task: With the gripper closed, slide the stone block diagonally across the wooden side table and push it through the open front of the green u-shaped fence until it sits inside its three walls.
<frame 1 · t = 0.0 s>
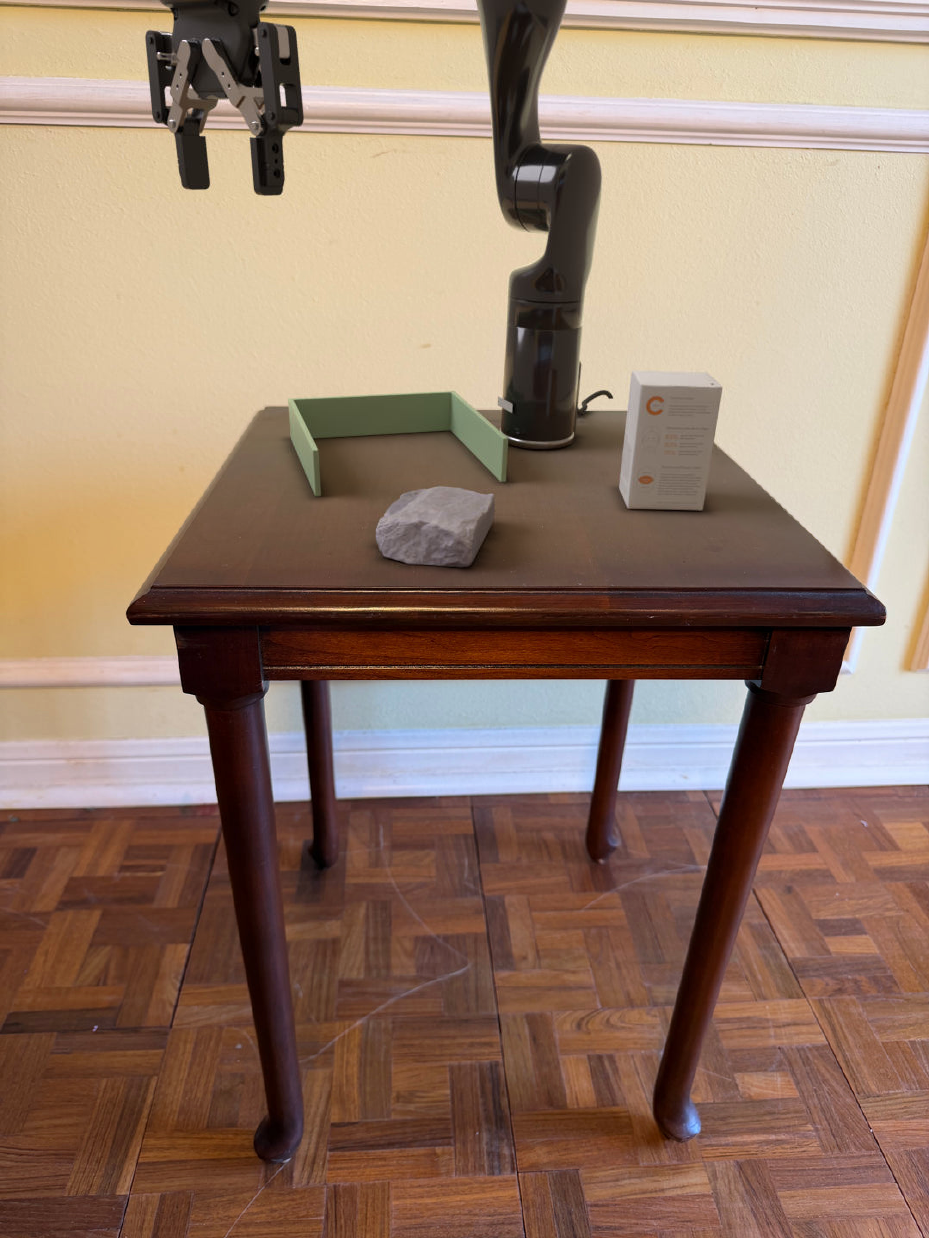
hand: (231, 192, 67), 29 cm above the table, tool pointing down, fingers open, 8 cm apart
stone block: (433, 541, 83), on the table
green u-shaped fence: (392, 459, 104), on the table
small box: (659, 501, 94), on the table
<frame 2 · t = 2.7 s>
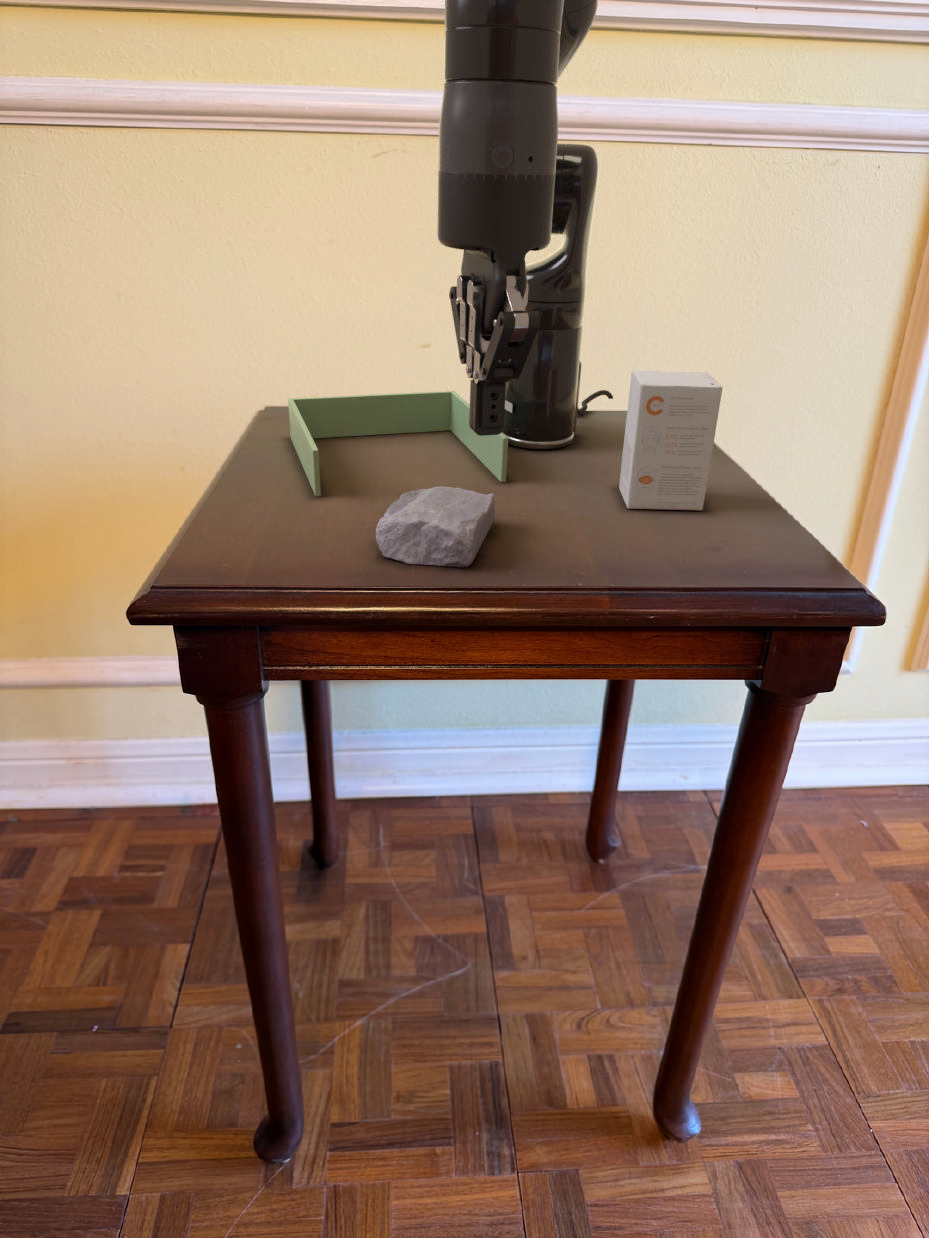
hand: (486, 432, 65), 14 cm above the table, tool pointing down, fingers closed
nothing on the table moved.
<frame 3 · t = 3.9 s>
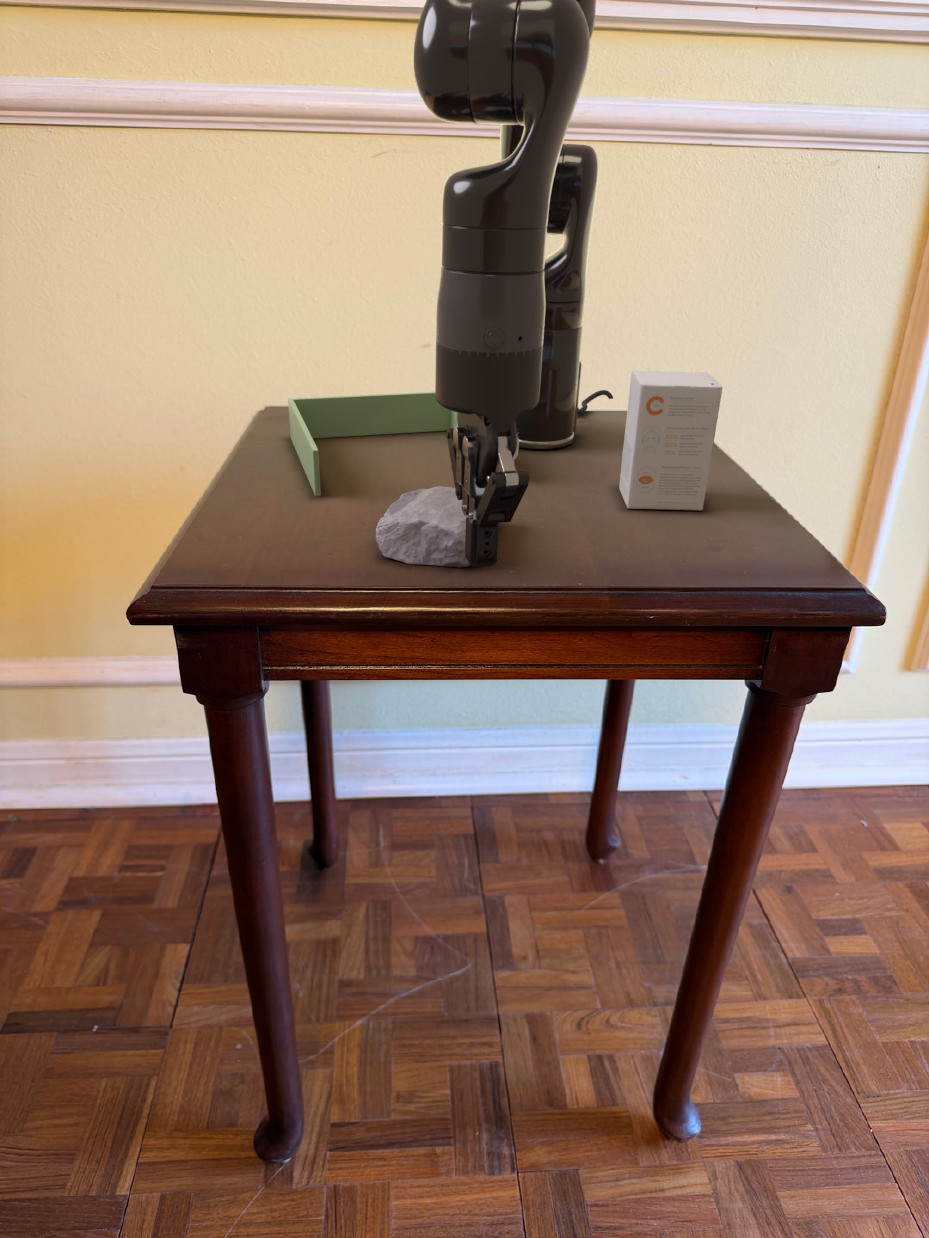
hand: (480, 562, 70), 4 cm above the table, tool pointing down, fingers closed
nothing on the table moved.
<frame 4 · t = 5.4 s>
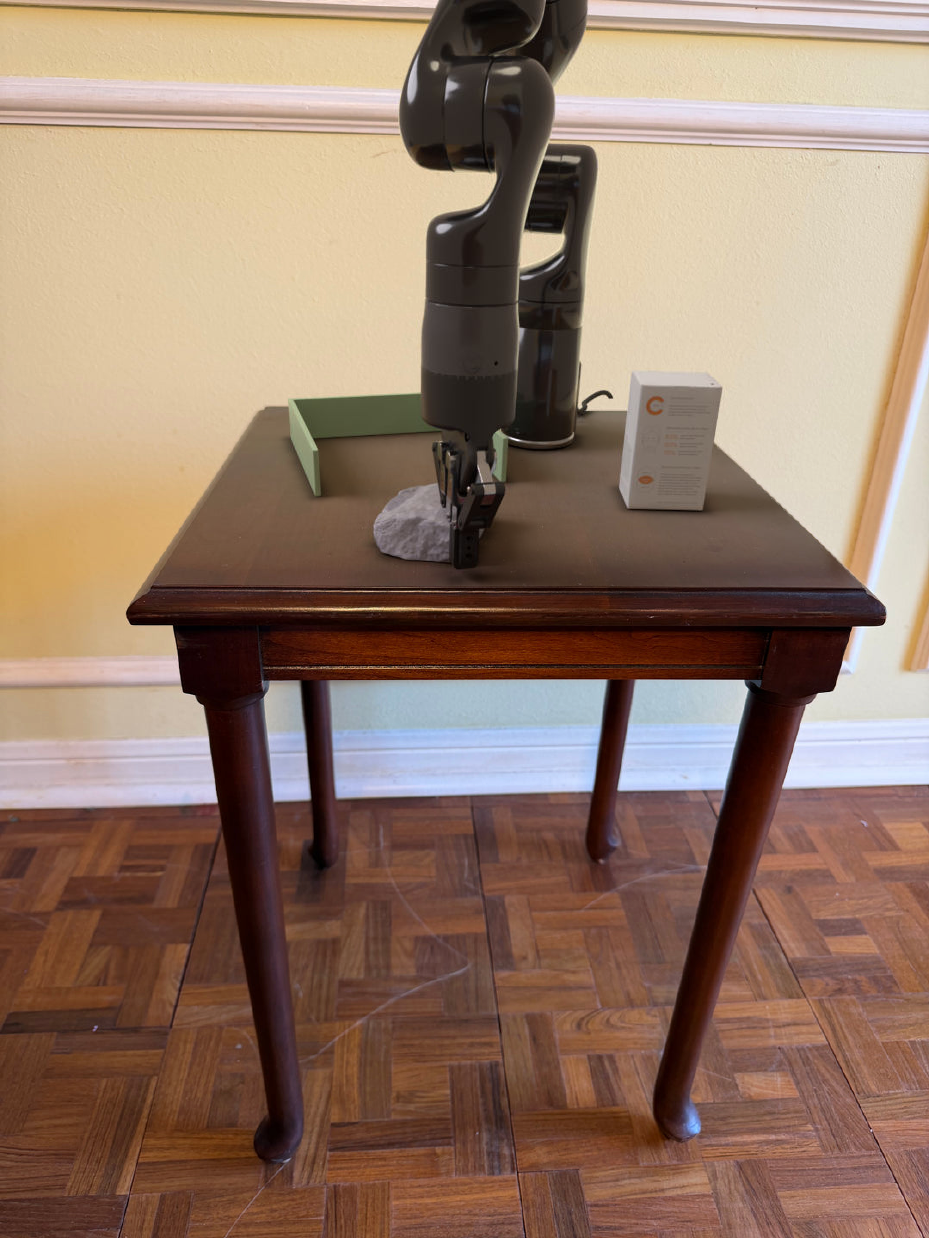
hand: (463, 565, 76), 1 cm above the table, tool pointing down, fingers closed
stone block: (431, 538, 84), on the table, touching gripper
everything else where it was.
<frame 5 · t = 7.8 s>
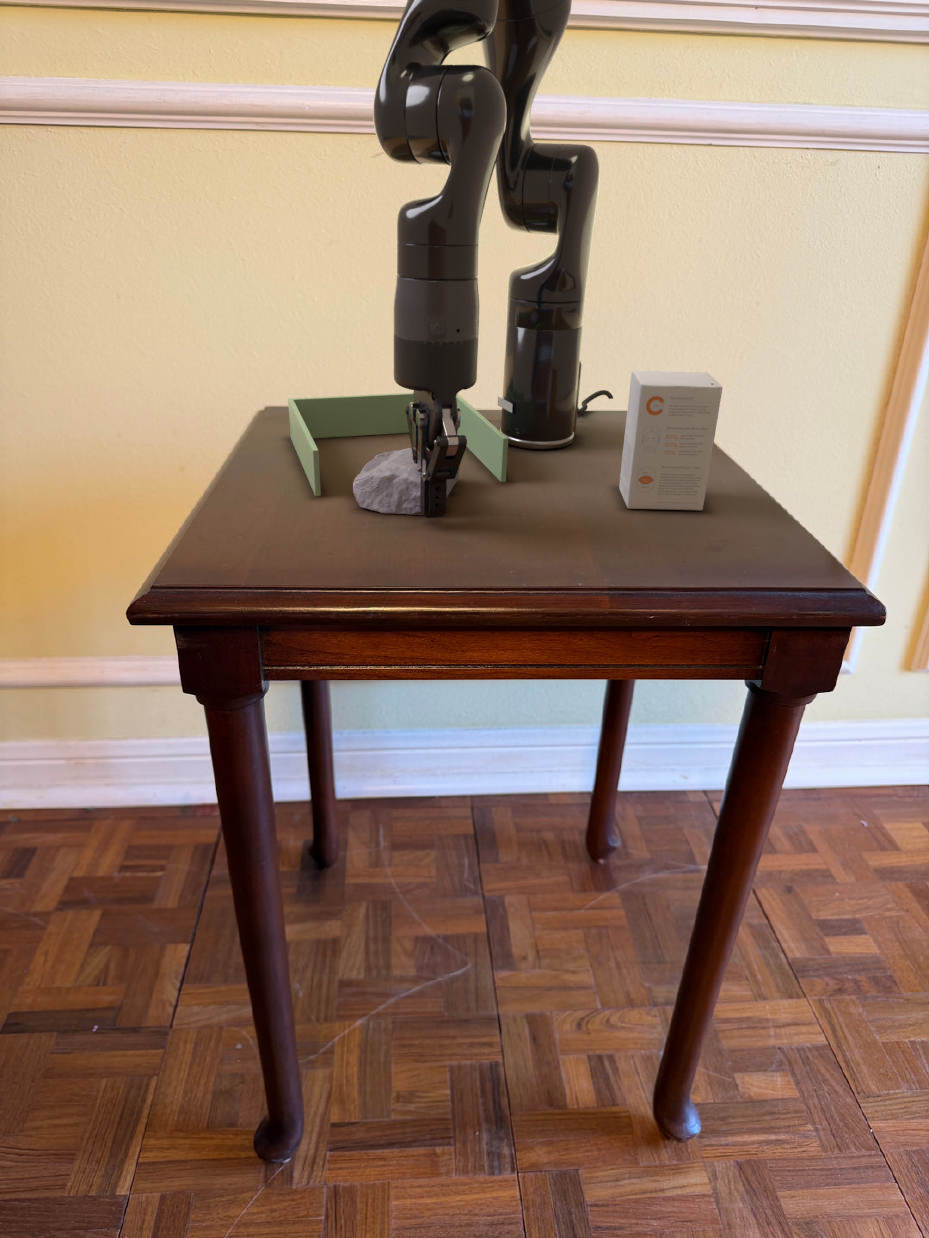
hand: (432, 514, 86), 1 cm above the table, tool pointing down, fingers closed
stone block: (404, 496, 94), on the table, touching gripper
everything else where it was.
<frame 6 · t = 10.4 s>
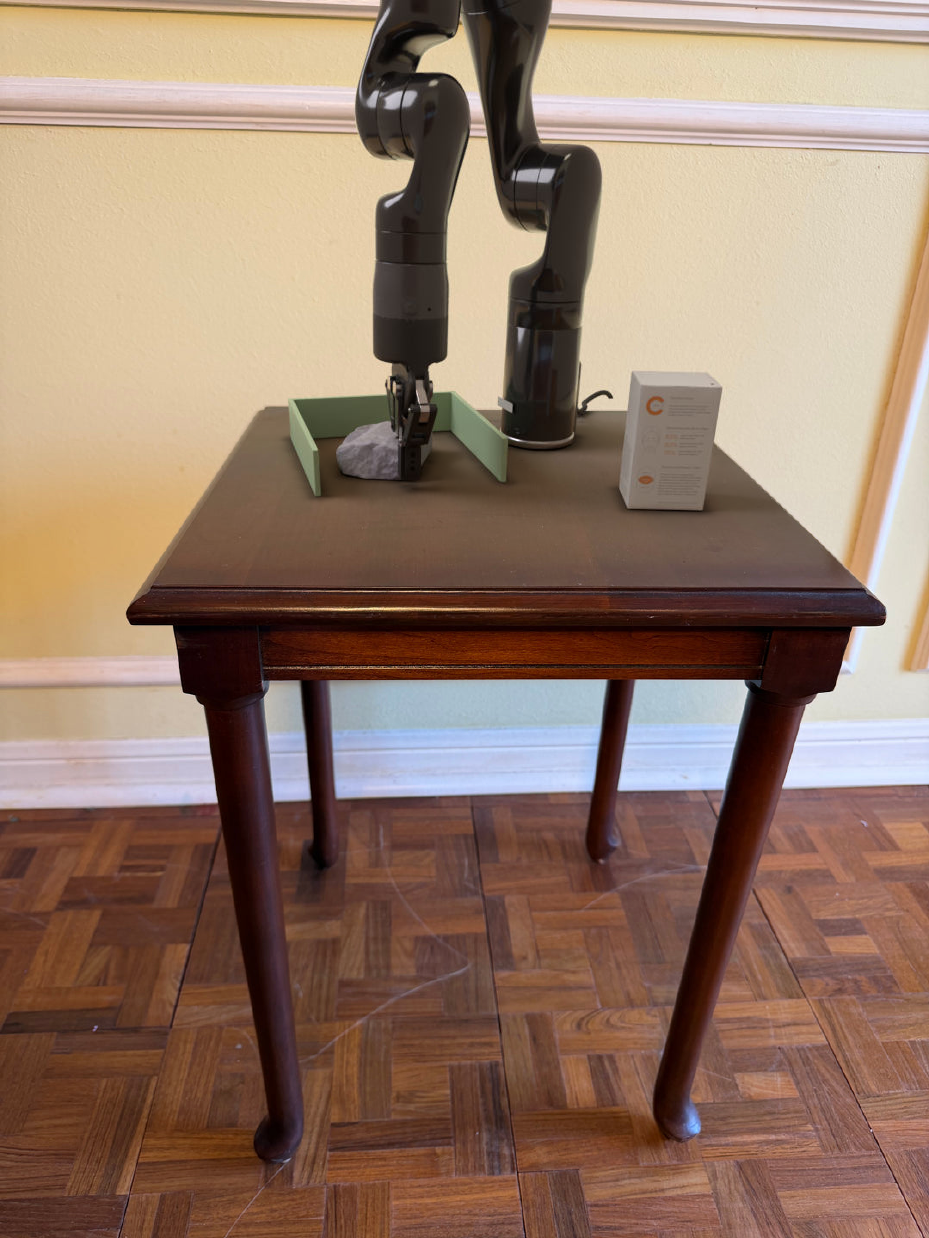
hand: (409, 478, 95), 1 cm above the table, tool pointing down, fingers closed
stone block: (383, 464, 102), on the table, touching gripper
everything else where it was.
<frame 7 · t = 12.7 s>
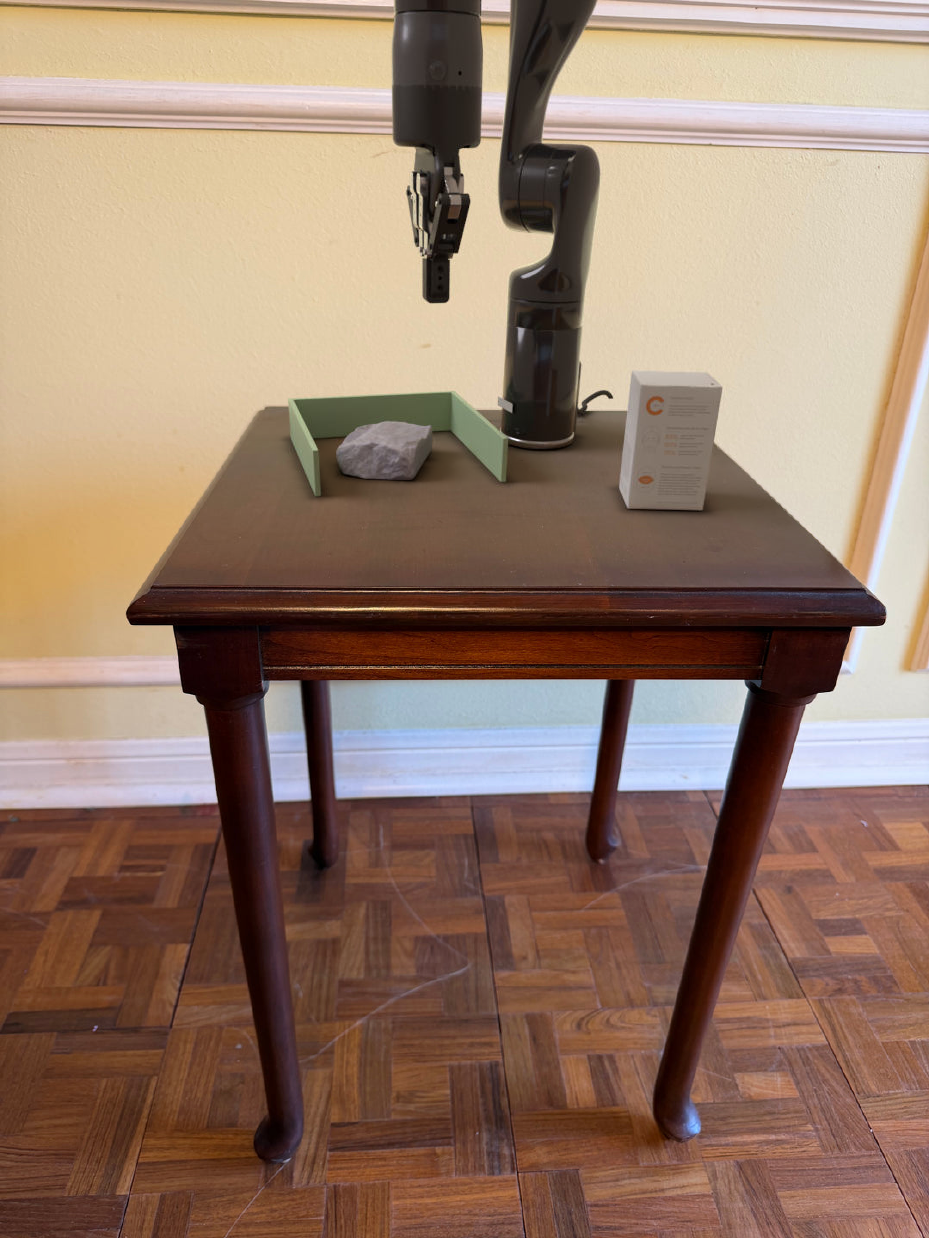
hand: (435, 301, 81), 20 cm above the table, tool pointing down, fingers closed
stone block: (383, 464, 102), on the table
everything else where it was.
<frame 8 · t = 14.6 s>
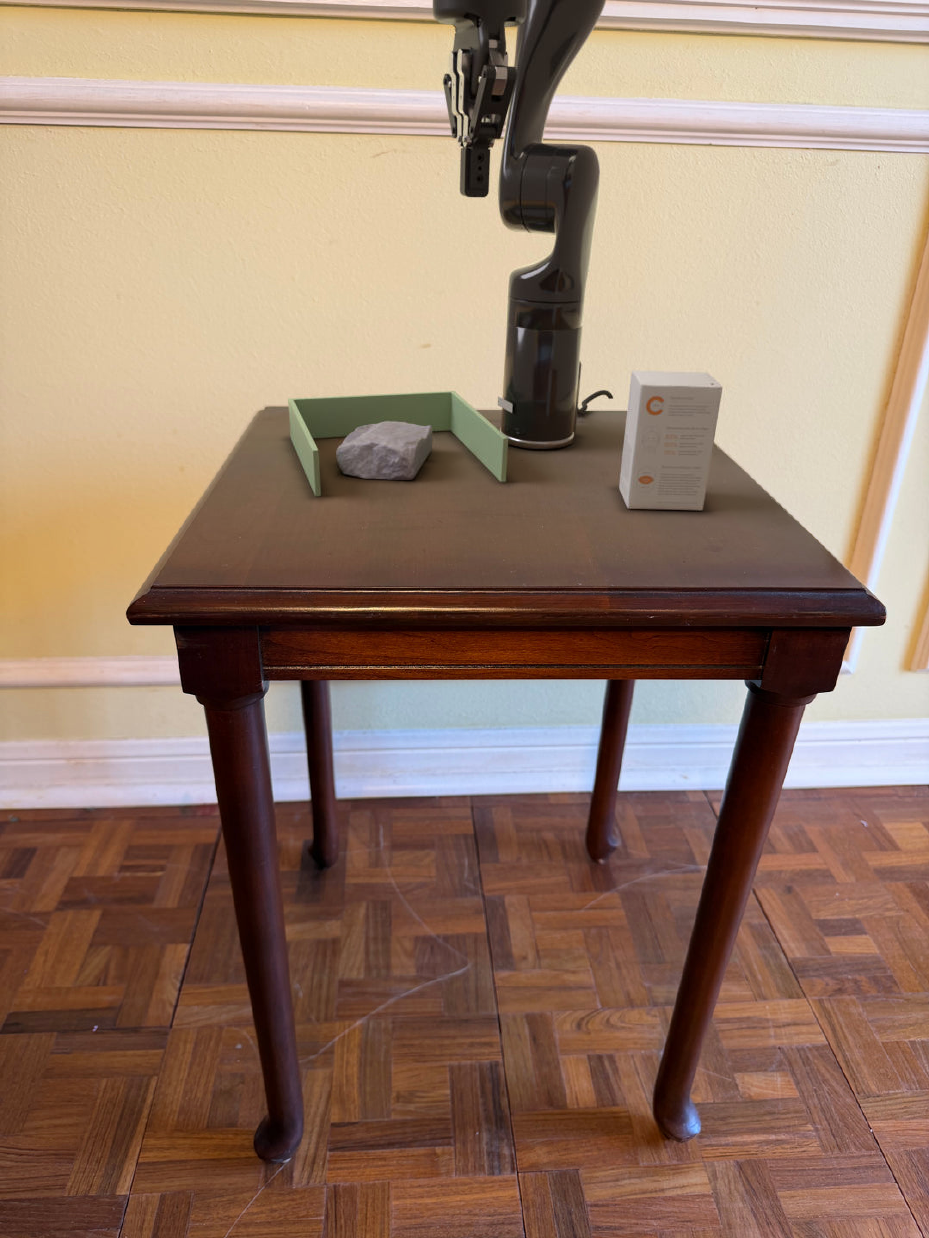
hand: (473, 196, 77), 29 cm above the table, tool pointing down, fingers closed
nothing on the table moved.
at the end: stone block 1.7 cm from the green u-shaped fence (horizontally); stone block on the table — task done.
